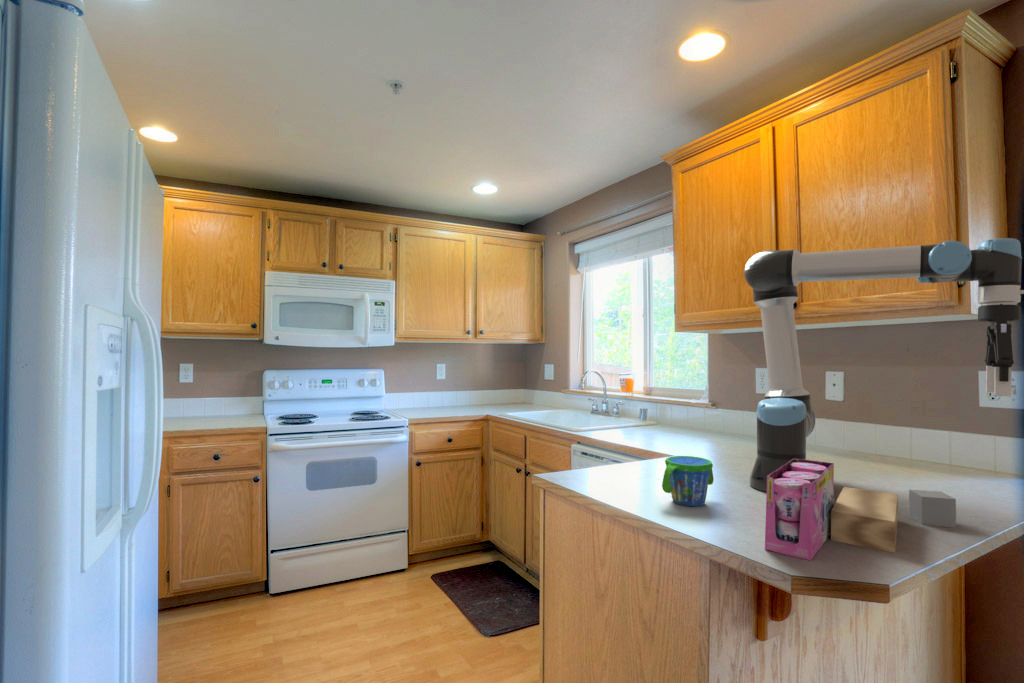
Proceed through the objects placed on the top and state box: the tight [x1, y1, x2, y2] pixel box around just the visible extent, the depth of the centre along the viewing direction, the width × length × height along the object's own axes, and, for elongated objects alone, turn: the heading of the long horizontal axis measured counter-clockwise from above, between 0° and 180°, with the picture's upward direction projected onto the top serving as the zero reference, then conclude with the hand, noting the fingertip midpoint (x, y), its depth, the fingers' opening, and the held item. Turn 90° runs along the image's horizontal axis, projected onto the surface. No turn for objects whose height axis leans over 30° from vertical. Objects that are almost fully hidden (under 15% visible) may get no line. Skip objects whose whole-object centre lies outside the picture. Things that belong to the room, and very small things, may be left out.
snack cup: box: [661, 455, 714, 507], centre depth 127 cm, size 16×10×10 cm
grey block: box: [908, 489, 957, 528], centre depth 114 cm, size 6×6×6 cm
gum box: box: [764, 459, 835, 561], centre depth 103 cm, size 24×8×14 cm, turn 140°
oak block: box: [830, 486, 899, 553], centre depth 109 cm, size 10×23×6 cm, turn 143°
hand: (997, 394), depth 126 cm, fingers open, 13 cm apart
